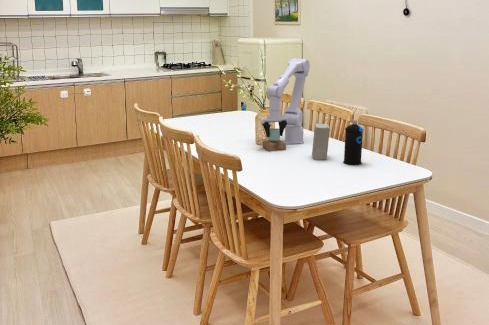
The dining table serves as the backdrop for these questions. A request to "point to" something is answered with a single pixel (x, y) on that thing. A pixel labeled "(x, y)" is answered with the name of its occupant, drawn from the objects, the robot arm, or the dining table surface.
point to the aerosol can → (353, 144)
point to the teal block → (274, 134)
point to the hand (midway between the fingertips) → (274, 136)
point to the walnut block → (274, 145)
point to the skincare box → (320, 141)
